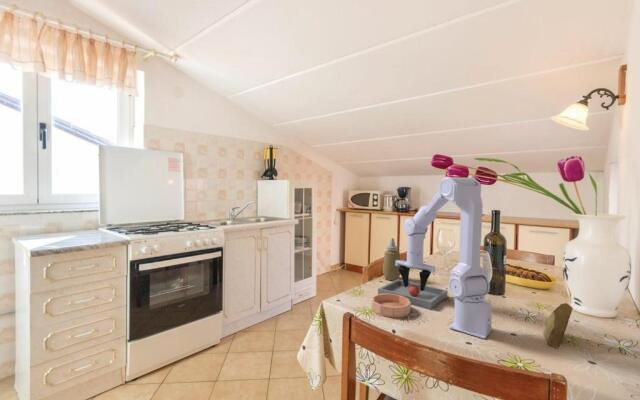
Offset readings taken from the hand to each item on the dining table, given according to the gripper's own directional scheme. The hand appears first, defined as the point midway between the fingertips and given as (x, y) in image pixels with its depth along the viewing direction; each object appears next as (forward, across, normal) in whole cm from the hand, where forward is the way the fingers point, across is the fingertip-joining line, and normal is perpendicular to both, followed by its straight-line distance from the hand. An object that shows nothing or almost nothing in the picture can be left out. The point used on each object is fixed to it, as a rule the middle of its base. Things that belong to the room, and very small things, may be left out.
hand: (414, 288), depth 112 cm
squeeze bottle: (+4, +17, -15) cm, 23 cm away
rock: (+4, -41, +4) cm, 41 cm away
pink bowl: (+3, +1, +16) cm, 16 cm away
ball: (+1, 0, 0) cm, 1 cm away
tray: (+3, +1, -1) cm, 4 cm away
